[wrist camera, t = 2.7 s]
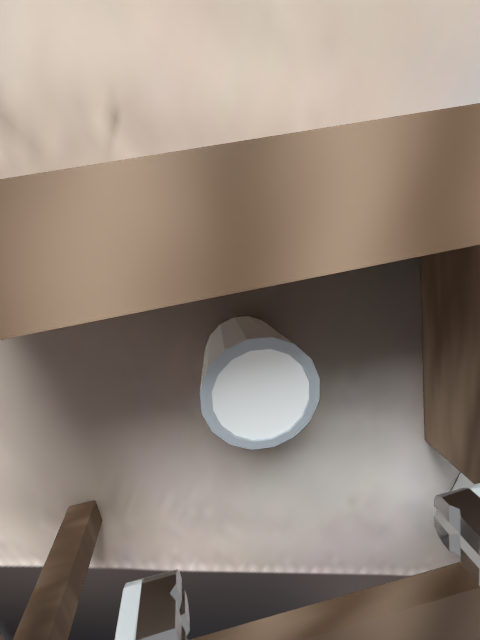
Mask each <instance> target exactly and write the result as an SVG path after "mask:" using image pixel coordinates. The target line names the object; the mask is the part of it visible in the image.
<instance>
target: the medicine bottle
mask: <svg viewBox="0 0 480 640" xmlns="http://www.w3.org/2000/svg"><path fill="white" fill-rule="evenodd" d="M471 485H474V484H473V483H472V482H471V481H470V480H469V479H468V478H467V477H466V476H464V475H463V474H462V473H460V475H459V477H458V479H457V481H456V483H455V485H454V487H453V489H452V491H453V490H457V489H460V488H465V487H468V486H471Z"/></svg>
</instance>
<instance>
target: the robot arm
mask: <svg viewBox="0 0 480 640" xmlns="http://www.w3.org/2000/svg"><path fill="white" fill-rule="evenodd" d="M434 506H435V507H436V509H437V510H438V512H437V514H436V515H435V517H434V520H435V528H436V530H437V533H438V535H439V537H440V539H441V541H442V542H443V544H444V545H445V546H446V547H447V549H448V550H449V551H450V552H452V553H454V554H456V555H458V556H460V562H461V566H462V567H463V568H464V569H465V570H466V571H467V573H468V574H469V575H470V576H471V577H472V579H473V580H474V581H475V582H476V583H477V585H478V586H480V483H478V484H475V485H471V486H468V487H465V488H460V489H457V490H453V491H450V492H447V493H443V494H440V495H437V496H436V497H435V498H434ZM181 581H182V579H181V575H180V572H179V570H174V571H170V572H166V573H162V574H158V575H154V576H150V577H146V578H143V579H139V580H136V581H132V582H128V583H126V584H125V587H124V589H123V594H122V600H121V605H120V612H119V618H118V623H117V629H116V635H115V640H187V634H188V632H189V631H190V618H189V608H188V601H187V596H186V592H185V590H184V589H183V588H182V582H181Z"/></svg>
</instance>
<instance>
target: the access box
mask: <svg viewBox="0 0 480 640" xmlns="http://www.w3.org/2000/svg"><path fill="white" fill-rule="evenodd" d="M420 256H421V294H422V338H423V381H424V424H425V440H426V441H427V442H428V443H429V444H430V445H431V446H432V447H434V448H435V449H436V450H437V451H438V452H439V453H440V454H441V455H442V456H443V457H445V458H446V459H447V460H448V461H449V462H450V463H451V464H452V465H453V466H454V467H456V468H457V469H458V470H459V471H460V472H461V473H462V474H463V475H464V476H466V477H467V478H468V479H469V480H470V481H471V482H472V483H473V484H474V485H475V484H478V483H480V103H478V104H472V105H466V106H459V107H453V108H447V109H440V110H434V111H428V112H421V113H415V114H409V115H403V116H396V117H390V118H384V119H377V120H371V121H365V122H358V123H352V124H346V125H340V126H333V127H327V128H321V129H314V130H308V131H302V132H296V133H289V134H283V135H277V136H270V137H264V138H258V139H251V140H245V141H239V142H233V143H226V144H220V145H214V146H207V147H201V148H195V149H188V150H182V151H176V152H170V153H163V154H157V155H151V156H144V157H138V158H132V159H125V160H119V161H113V162H107V163H100V164H94V165H88V166H81V167H75V168H69V169H62V170H56V171H50V172H44V173H37V174H31V175H25V176H18V177H12V178H6V179H0V340H2V339H8V338H13V337H18V336H23V335H28V334H33V333H38V332H43V331H48V330H53V329H58V328H63V327H68V326H73V325H78V324H83V323H88V322H93V321H98V320H103V319H108V318H113V317H118V316H123V315H128V314H133V313H138V312H143V311H148V310H153V309H158V308H163V307H168V306H173V305H178V304H184V303H189V302H194V301H199V300H204V299H209V298H214V297H219V296H224V295H229V294H234V293H239V292H244V291H249V290H254V289H259V288H264V287H269V286H274V285H279V284H284V283H289V282H294V281H299V280H304V279H309V278H314V277H319V276H324V275H329V274H334V273H339V272H344V271H349V270H354V269H360V268H365V267H370V266H375V265H380V264H385V263H390V262H395V261H400V260H405V259H410V258H415V257H420ZM101 523H102V519H101V516H100V513H99V510H98V507H97V505H96V502H95V501H91V502H87V503H82V504H78V505H74V506H70V507H69V508H68V510H67V513H66V515H65V517H64V520H63V522H62V524H61V527H60V529H59V532H58V534H57V536H56V539H55V541H54V543H53V546H52V548H51V550H50V553H49V555H48V558H47V560H46V562H45V565H44V567H43V569H42V572H41V574H40V576H39V579H38V581H37V584H36V586H35V588H34V591H33V593H32V595H31V598H30V600H29V603H28V605H27V607H26V610H25V612H24V614H23V617H22V619H21V622H20V624H19V626H18V629H17V631H16V633H15V636H14V638H13V640H68V636H69V633H70V629H71V626H72V622H73V619H74V615H75V612H76V609H77V605H78V602H79V598H80V595H81V591H82V588H83V585H84V581H85V578H86V574H87V571H88V567H89V564H90V560H91V557H92V554H93V550H94V547H95V543H96V540H97V536H98V533H99V530H100V526H101ZM0 640H3V637H2V636H1V634H0ZM191 640H480V586H478V585H477V583H476V582H475V581H474V580H473V579H472V577H471V576H470V575H469V574H468V573H467V571H466V570H465V569H464V568H463V567H462V566H461V562H458V563H455V564H451V565H448V566H444V567H441V568H437V569H434V570H430V571H427V572H424V573H420V574H417V575H413V576H410V577H406V578H403V579H399V580H396V581H392V582H389V583H385V584H382V585H379V586H375V587H371V588H368V589H364V590H361V591H357V592H354V593H350V594H347V595H343V596H340V597H337V598H333V599H330V600H326V601H323V602H319V603H316V604H312V605H309V606H305V607H302V608H298V609H295V610H291V611H288V612H284V613H281V614H277V615H274V616H271V617H267V618H264V619H260V620H257V621H253V622H250V623H247V624H243V625H239V626H236V627H232V628H229V629H225V630H222V631H218V632H215V633H211V634H208V635H204V636H201V637H198V638H194V639H191Z"/></svg>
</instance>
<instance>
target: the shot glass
mask: <svg viewBox="0 0 480 640" xmlns="http://www.w3.org/2000/svg"><path fill="white" fill-rule="evenodd" d="M319 400H320V378H319V375H318V373H317V371H316V368H315V366H314V364H313V361H312V359H311V358H310V357H309V356H308V355H306V354H305V353H304V352H303V351H302V350H301V349H300V348H299V347H297V346H296V345H295V344H294V343H293V342H291V341H290V340H288V339H287V338H286V337H284V336H283V335H282V334H280V333H279V332H277V331H276V330H275V329H273V328H272V327H271V326H269V325H268V324H267V323H265V322H264V321H262V320H259V319H256V318H253V317H250V316H245V317H234V318H231V319H229V320H227V321H225V322H223V323H221V324H220V325H219V326H218V327H217V328H216V329H215V330H214V331H213V332H212V334H211V335H210V336H209V339H208V342H207V345H206V348H205V353H204V361H203V369H202V377H201V385H200V402H201V413H202V415H203V417H204V419H205V420H206V422H207V424H208V426H209V427H210V429H211V431H212V432H213V433H214V434H216V435H217V436H218V437H220V438H221V439H223V440H224V441H225V442H227V443H228V444H230V445H233V446H238V447H242V448H246V449H250V450H254V449H262V448H270V447H275V446H277V445H279V444H281V443H283V442H285V441H287V440H289V439H291V438H293V437H295V436H296V435H297V434H298V433H299V432H300V431H301V430H302V429H303V428H304V427H305V426H306V425H307V424H308V423H309V422H310V421H311V418H312V416H313V414H314V412H315V409H316V407H317V405H318V403H319Z"/></svg>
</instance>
